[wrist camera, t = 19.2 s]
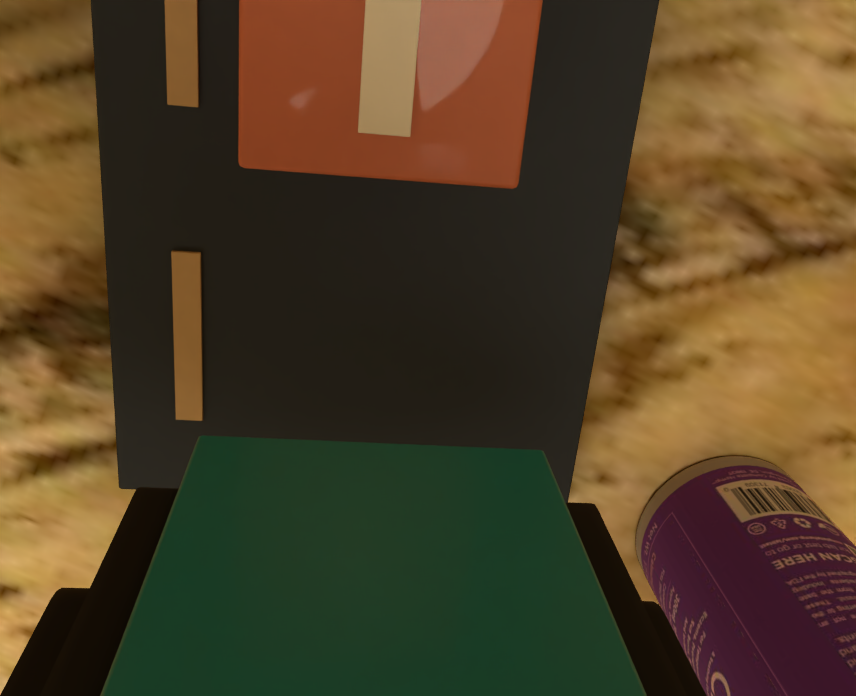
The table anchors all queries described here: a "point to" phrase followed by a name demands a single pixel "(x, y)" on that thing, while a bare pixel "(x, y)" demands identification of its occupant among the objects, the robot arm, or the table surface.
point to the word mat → (352, 256)
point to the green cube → (369, 578)
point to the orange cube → (387, 88)
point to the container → (752, 580)
